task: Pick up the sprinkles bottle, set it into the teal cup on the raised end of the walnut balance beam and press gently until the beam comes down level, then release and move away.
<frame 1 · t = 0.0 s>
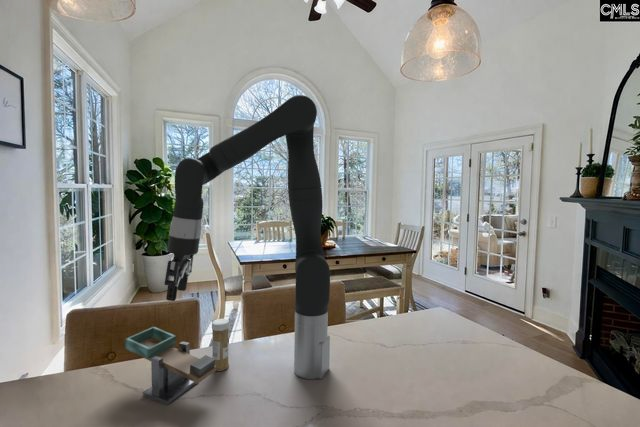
hand: (176, 294, 85), 22 cm above the kitchen island, tool pointing down, fingers open, 8 cm apart
sprinkles bottle: (220, 368, 91), on the kitchen island
fulcrum stand: (171, 388, 81), on the kitchen island
beam: (171, 353, 80), point 9 cm above the kitchen island, hinge at -8.0°
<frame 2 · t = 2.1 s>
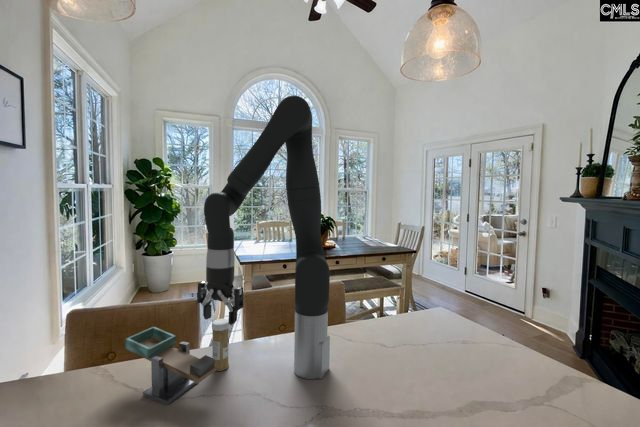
hand: (219, 321, 90), 13 cm above the kitchen island, tool pointing down, fingers open, 8 cm apart
nothing on the kitchen island moved.
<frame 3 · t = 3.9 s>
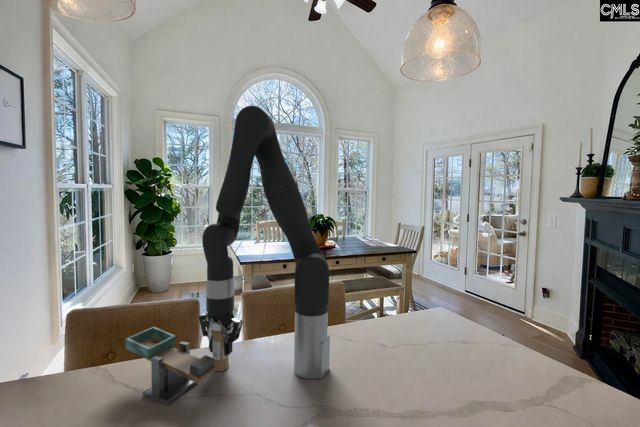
hand: (220, 352, 91), 4 cm above the kitchen island, tool pointing down, fingers closed on sprinkles bottle, 4 cm apart
sprinkles bottle: (220, 368, 91), on the kitchen island, touching gripper
everything else where it was.
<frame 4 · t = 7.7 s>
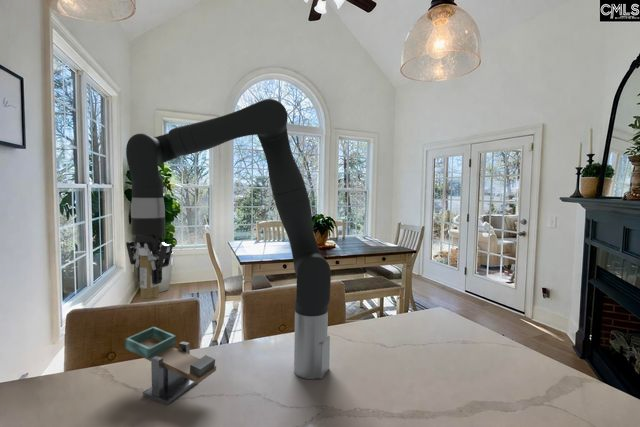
hand: (149, 282, 82), 26 cm above the kitchen island, tool pointing down, fingers closed on sprinkles bottle, 4 cm apart
sprinkles bottle: (149, 299, 82), point 22 cm above the kitchen island, touching gripper
everything else where it was.
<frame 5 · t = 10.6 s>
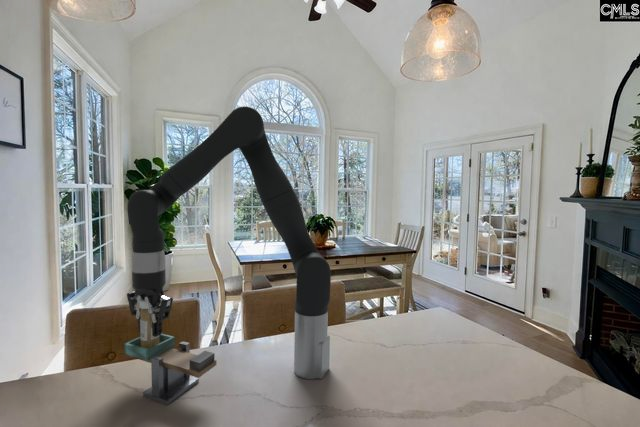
hand: (150, 333, 83), 13 cm above the kitchen island, tool pointing down, fingers closed on sprinkles bottle, 4 cm apart
sprinkles bottle: (150, 350, 83), point 8 cm above the kitchen island, touching beam, gripper
beam: (171, 353, 80), point 9 cm above the kitchen island, hinge at -0.7°, touching sprinkles bottle
when the fingers open (13 cm above the kitchen island, at t = 11.6 s): sprinkles bottle stays where it is, resting on beam.
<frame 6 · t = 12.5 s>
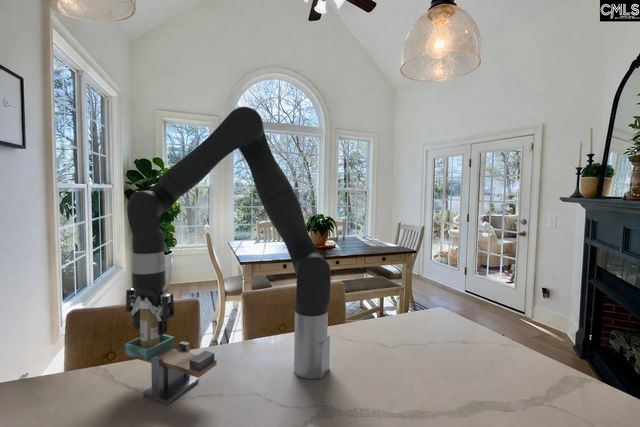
hand: (150, 331, 83), 14 cm above the kitchen island, tool pointing down, fingers open, 8 cm apart
sprinkles bottle: (150, 350, 83), point 8 cm above the kitchen island, touching beam
everything else where it was.
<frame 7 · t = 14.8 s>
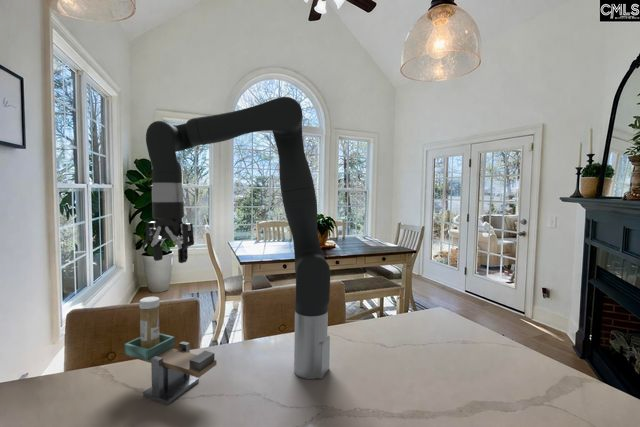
hand: (170, 261, 85), 31 cm above the kitchen island, tool pointing down, fingers open, 8 cm apart
nothing on the kitchen island moved.
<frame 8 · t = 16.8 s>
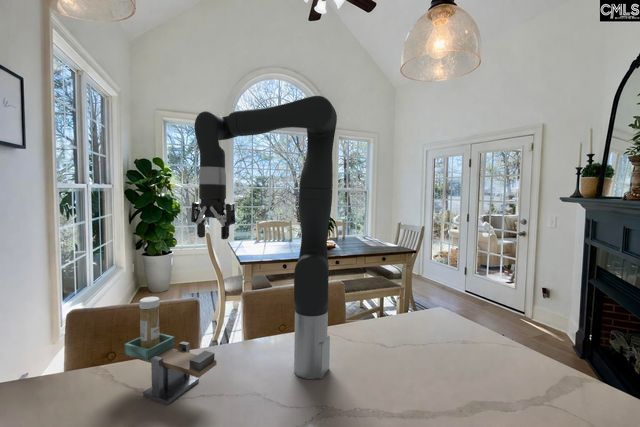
hand: (212, 238, 95), 36 cm above the kitchen island, tool pointing down, fingers open, 8 cm apart
nothing on the kitchen island moved.
at the end: beam at +0° (first picture: -8°); sprinkles bottle 0.1 cm from the target spot on the beam, point 0.5 cm above the beam's base; sprinkles bottle tilted 1° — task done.
